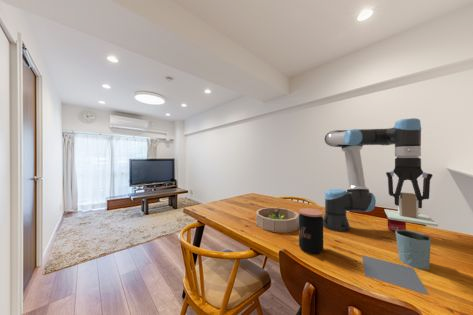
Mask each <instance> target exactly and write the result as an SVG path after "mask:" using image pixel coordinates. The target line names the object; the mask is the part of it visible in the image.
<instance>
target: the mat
mask: <svg viewBox="0 0 473 315" xmlns="http://www.w3.org/2000/svg"><path fill="white" fill-rule="evenodd" d="M361 258H362V263H363V264H362V265H363V271H364V272H363V273H364V276H365V277H368V278H371V279H374V280H377V281H381V282H385V283H386V284H391V285H394V286H398V287H400V288H403V289H406V290H411V291H413V292H416V293H417V292H418V293H420V294H423V295H427V296H430V294H429V293H428V291H427V289H426V287H425V285H424V284H423V283H422V281H421V278H420V277H419V276H418V274H417V272H416V270H415V268H414V267H411V266H408V265H403V264H399V263H395V262H391V261H386V260H383V259H379V258H376V257H372V256H371V257H370V256H368V255H367V256H366V255H361Z"/></svg>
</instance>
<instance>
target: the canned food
mask: <svg viewBox="0 0 473 315" xmlns="http://www.w3.org/2000/svg"><path fill="white" fill-rule="evenodd" d="M406 224H407V222H404V221H398V220H391V219H389V218H388V217H387V230H388V231H390V232H391V233H392V232H393V233H395V232H396V230H407V225H406Z"/></svg>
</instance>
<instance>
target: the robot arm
mask: <svg viewBox="0 0 473 315" xmlns="http://www.w3.org/2000/svg"><path fill="white" fill-rule="evenodd" d="M324 142H325V144H326V145H327V146H330V147H334V148H341V151H342V152H344V158H345V165H346V173H347V180H348V187H347V189H346V190H345V189H339V188H333V189H328V190H327V191H325V192H324V194H325V195H324V214H323V228H326V229H329V230H332V231H335V232H348V231H350V230H351V229H350V228H351V226H350V222H349V220H348V217H347V212H362V213H365V212H366V213H367V212H368V213H369V212H373V210H374V209H375V208H376V203H377V202H376V200H377V199H376V196H375V195H374V193H372V192H370V188H368V187H367V186H366V182H365V176H364V175H365V174H364V170H363V169H364V168H363V163H362V156H361V150H362V149H363V146H390V145H391V146H392V145H394V157H395V159H394V169H393V170H391V171H386V172H385V175H386V177H387V187H388V195H389V196H390V197H393V198H394V205H395V206H397V211H398V213H399V214H400V215H402V199H401V198H400V193H401V192H402V189H403V185H404V183H405V181H410V182H411V185H412V188H413V191H414V192H413V193H414V194H415V195H416V217H418V214H419V209H422V208H423V200H429V199H430V187H431V179H432V178H433V174H432V173H427V172H424V171H423V169H422V158H421V157H422V127H421V120H420V119H419V118H415V117H414V118H403V119H399V120H395V122H394V126H393V127H389V128H368V129H367V128H365V129H364V128H363V129H362V128H361V129H360V128H359V129H357V128H355V129H354V128H353V129H344V130H340V129H337V130H331V131H329V132H327V133H326V134H325V136H324ZM394 174H395V175H396V177H397V178H398V180H397V184H396V188H395V191H394V181H393V177H394ZM420 177H422V179H423V181H422V182H423V183H422V193H421V189H420V186H419V183H418V178H420Z"/></svg>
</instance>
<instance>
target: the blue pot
mask: <svg viewBox="0 0 473 315" xmlns="http://www.w3.org/2000/svg"><path fill="white" fill-rule="evenodd" d="M394 233H395V240H396V246H397V252H398V259H399V261H400V262H402V263H403V264H405V265H406V266H408V267H411V268H413V269H418V270H429V269H430V261H431V260H430V258H431V244H432V238H431V237H430V236H428V235H427V234H423V233H421V232H417V231H413V230H407V229H406V230H396V232H394Z"/></svg>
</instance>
